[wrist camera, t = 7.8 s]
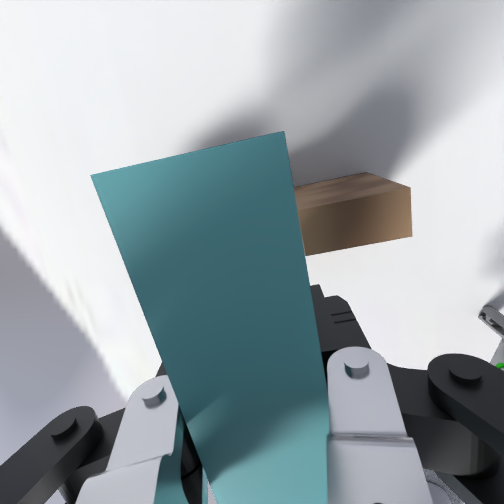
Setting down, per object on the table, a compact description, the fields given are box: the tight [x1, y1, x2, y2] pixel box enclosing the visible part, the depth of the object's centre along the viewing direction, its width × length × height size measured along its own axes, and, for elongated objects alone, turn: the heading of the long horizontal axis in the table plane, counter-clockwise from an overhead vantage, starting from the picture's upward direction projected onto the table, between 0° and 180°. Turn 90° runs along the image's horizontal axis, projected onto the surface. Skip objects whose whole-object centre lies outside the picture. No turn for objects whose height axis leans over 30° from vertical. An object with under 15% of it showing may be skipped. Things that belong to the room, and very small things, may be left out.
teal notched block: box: [90, 131, 329, 504], centre depth 13 cm, size 12×3×13 cm, turn 12°
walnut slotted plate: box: [294, 172, 412, 256], centre depth 23 cm, size 18×3×8 cm, turn 102°
